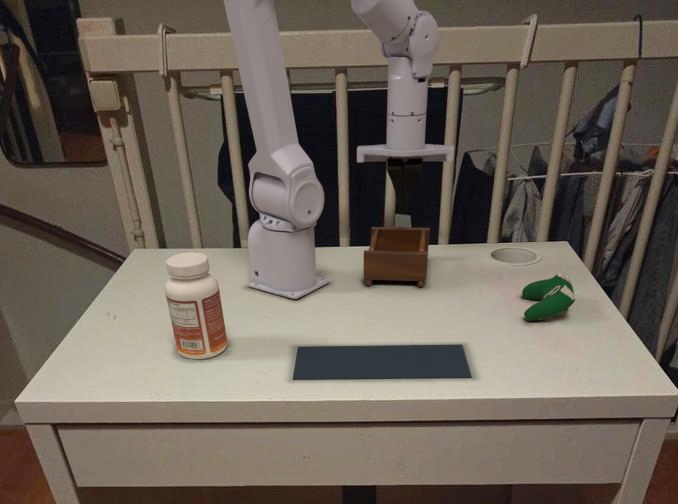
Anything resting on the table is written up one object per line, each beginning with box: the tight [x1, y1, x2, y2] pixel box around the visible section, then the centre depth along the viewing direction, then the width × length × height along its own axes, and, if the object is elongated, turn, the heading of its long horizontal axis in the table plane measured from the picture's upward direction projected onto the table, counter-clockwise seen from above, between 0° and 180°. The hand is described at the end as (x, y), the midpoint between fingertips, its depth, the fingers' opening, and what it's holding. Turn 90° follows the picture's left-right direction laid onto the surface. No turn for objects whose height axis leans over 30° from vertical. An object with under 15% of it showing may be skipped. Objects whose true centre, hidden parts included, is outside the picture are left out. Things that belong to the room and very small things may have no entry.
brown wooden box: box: [363, 226, 431, 288], centre depth 93 cm, size 12×9×5 cm
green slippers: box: [521, 269, 576, 322], centre depth 81 cm, size 9×4×6 cm
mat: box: [292, 343, 473, 381], centre depth 72 cm, size 20×8×1 cm, turn 88°
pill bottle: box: [164, 251, 228, 360], centre depth 73 cm, size 6×6×11 cm
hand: (402, 211), depth 99 cm, fingers closed
